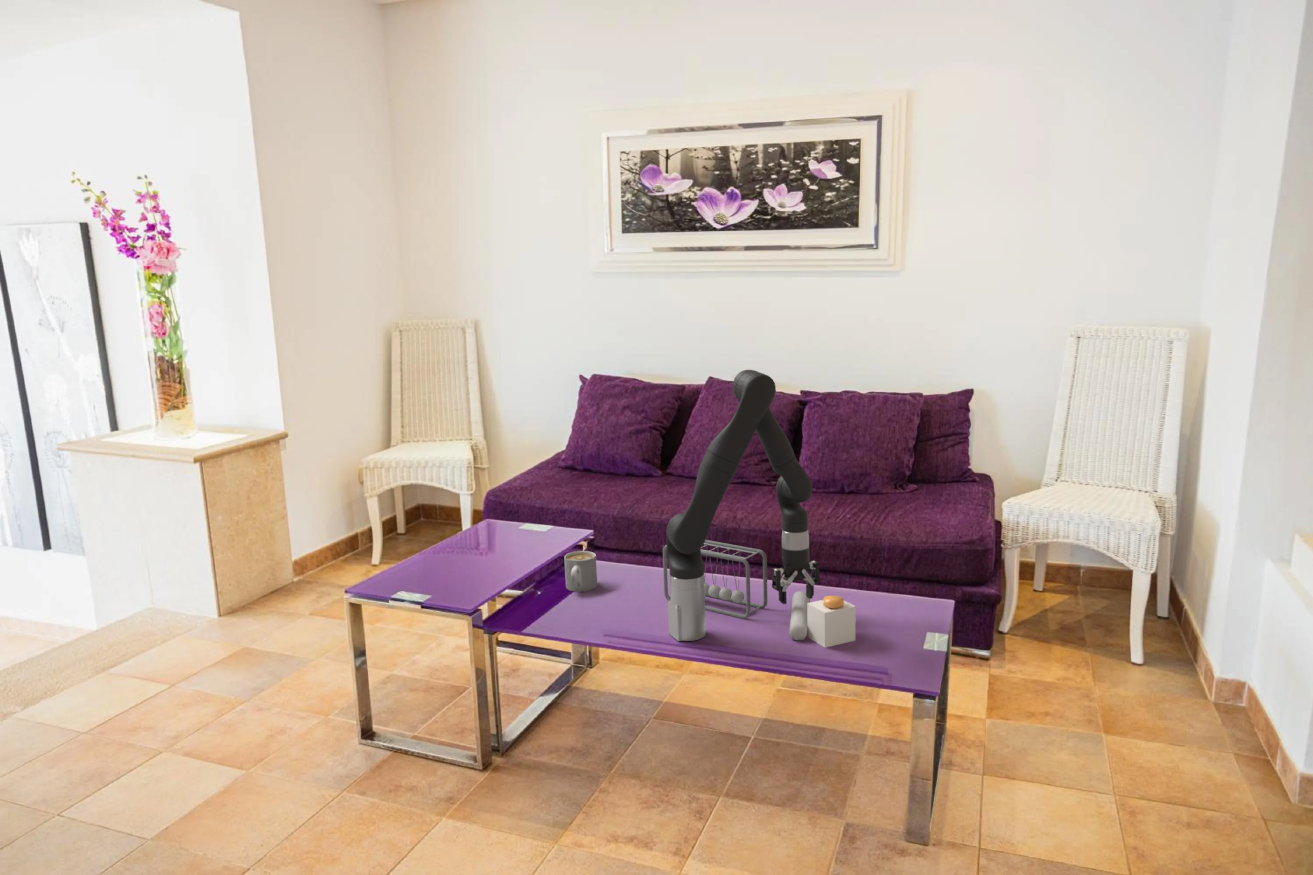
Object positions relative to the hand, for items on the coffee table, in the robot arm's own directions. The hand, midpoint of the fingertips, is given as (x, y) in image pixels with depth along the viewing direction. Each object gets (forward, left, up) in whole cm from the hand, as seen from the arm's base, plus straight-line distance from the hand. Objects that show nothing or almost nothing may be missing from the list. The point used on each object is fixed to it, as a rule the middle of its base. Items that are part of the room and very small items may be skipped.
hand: (796, 600), depth 253 cm
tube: (-2, -5, -5) cm, 7 cm away
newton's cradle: (-16, +20, -5) cm, 26 cm away
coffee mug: (-46, +53, -5) cm, 71 cm away
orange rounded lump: (0, -18, +3) cm, 18 cm away
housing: (0, -17, -5) cm, 18 cm away
